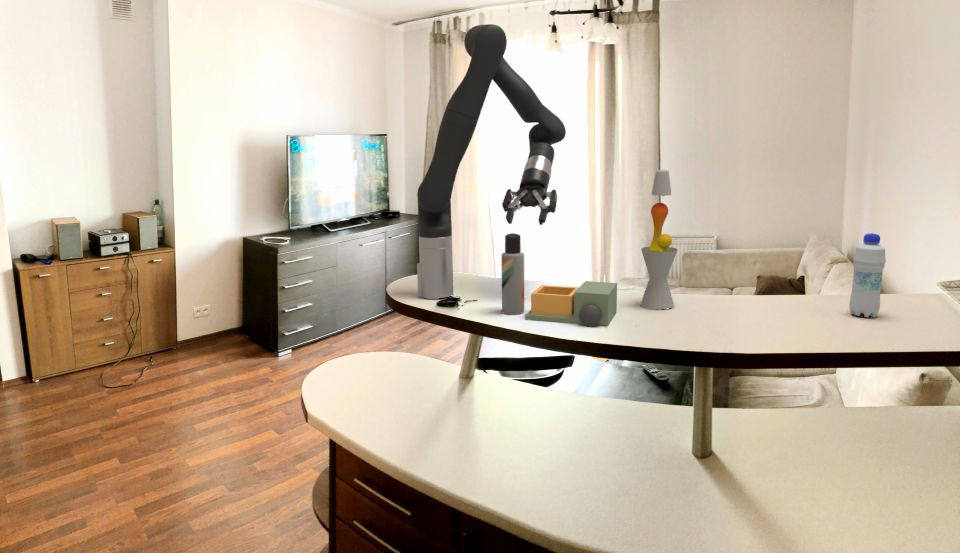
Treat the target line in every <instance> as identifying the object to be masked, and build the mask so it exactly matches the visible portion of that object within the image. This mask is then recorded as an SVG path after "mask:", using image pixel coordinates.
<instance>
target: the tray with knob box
mask: <svg viewBox="0 0 960 553" xmlns="http://www.w3.org/2000/svg"><path fill="white" fill-rule="evenodd" d="M617 301H618V283H617V282H605V281H590V280H589V281H588V280H585V281H584V282H583V283H582V284H581V285H580V286H579V287H575V286H561V285H544V284H542V285H540V286H539V287H537V288H536V289H535V290H534V291H532V292H531V293H530V310H529V311H527V313H526V314H525V317H524V318H525V320H527V321H528V320H529V321H541V322H552V323H564V324H565V323H566V324H576V325H585V326H586V327H591V328H592V327H595V326H600V327H601V326H603V327H609V325H610V324H611V322H612V321H613V319H614V318H615V316H616V314H617V308H618V307H617V305H618V304H617V303H618V302H617Z"/></svg>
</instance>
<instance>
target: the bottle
mask: <svg viewBox="0 0 960 553" xmlns="http://www.w3.org/2000/svg"><path fill="white" fill-rule="evenodd" d="M880 242H881V236H880V235H879V234H878V233H871V232H870V233H866V234H865V235H864V236H863V243H861V244H859V245H856V247H855V251H854V255H853V259H852V260H853V262H852V266H853V277H852V284H851V286H852V288H851V294H850V299H849V311H850V312H849V313H850V314H851V315H852V314H855V315H854V316H856V315H857V316H860V317H861V315H862V314H863V318H865V317H868V318H869V317H870V316H871V317H870V318H872V317H873V318H876V316H877V315H878V314H879V311H880V309H881V308H880V307H881V289H882V288H881V287H882V281H883V270H884V269H885V267H886V262H887V260H886V248H885V247H884V246H882V245H880ZM861 313H862V314H861ZM857 316H856V317H857Z"/></svg>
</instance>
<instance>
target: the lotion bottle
mask: <svg viewBox="0 0 960 553" xmlns="http://www.w3.org/2000/svg"><path fill="white" fill-rule="evenodd" d="M521 246H522V245H521V234H518V233H514V232H513V233H507V234H506V235H504V252H503V253H502V252H501V253H502V254H501V312H502V313H503V314H506V315H521V314H523V313H524V312H525V253H523V252H522V250H521V248H522V247H521Z"/></svg>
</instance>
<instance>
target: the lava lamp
mask: <svg viewBox="0 0 960 553" xmlns="http://www.w3.org/2000/svg"><path fill="white" fill-rule="evenodd" d="M654 175H655V176H654V179H653V180H654V181H653V185H652V190H651V196H660V197H661V196H662V197H666V196H672V188H671V187H672V186H671V179H670V178H671V177H670V172H669V170H668V169H657V170H656V171H655V173H654ZM650 215H651V218H652V223H653V236H652V240H651V243H650V245H649V246H644V247H642V248H641V254H642V256H643V259H644V263H645V266H646V269H647V273H648V275H649V276H648V277H649V279H648V282H647V284H646V288H645V290H644V292H643V296H642V299H641V301H640V304H639V305H640V307H641V306H642V307H641V308H643V307H644V308H643V309H647V308H648V310H653V309H667V308H672V309H674V308H675V303H674V299H673V296H672V292H671V289H670V285H669V282H668V275H669V273H670V271H671V269H672V266H673V263H674V261H675V258H676V256H677V253H678V248H676V247H670V246H671V245H672V243H673V239H672V236H671V235H670V234H667V233H663V234H662V232H663V228H664V224H665V221H666V219H667V217H668V215H669V207H668V206H667V205H666V204H665V203H664V202H657V203H655V204H653V205H652V206H651V209H650ZM673 307H674V308H673ZM667 310H668V309H667Z"/></svg>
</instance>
